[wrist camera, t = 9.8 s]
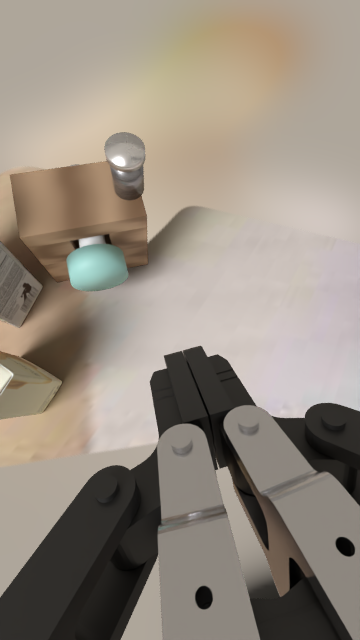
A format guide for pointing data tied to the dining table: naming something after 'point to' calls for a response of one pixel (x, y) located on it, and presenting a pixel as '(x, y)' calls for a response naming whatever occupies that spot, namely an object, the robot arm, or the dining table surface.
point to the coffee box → (15, 289)
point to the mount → (76, 215)
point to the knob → (96, 265)
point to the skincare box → (24, 387)
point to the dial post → (126, 164)
